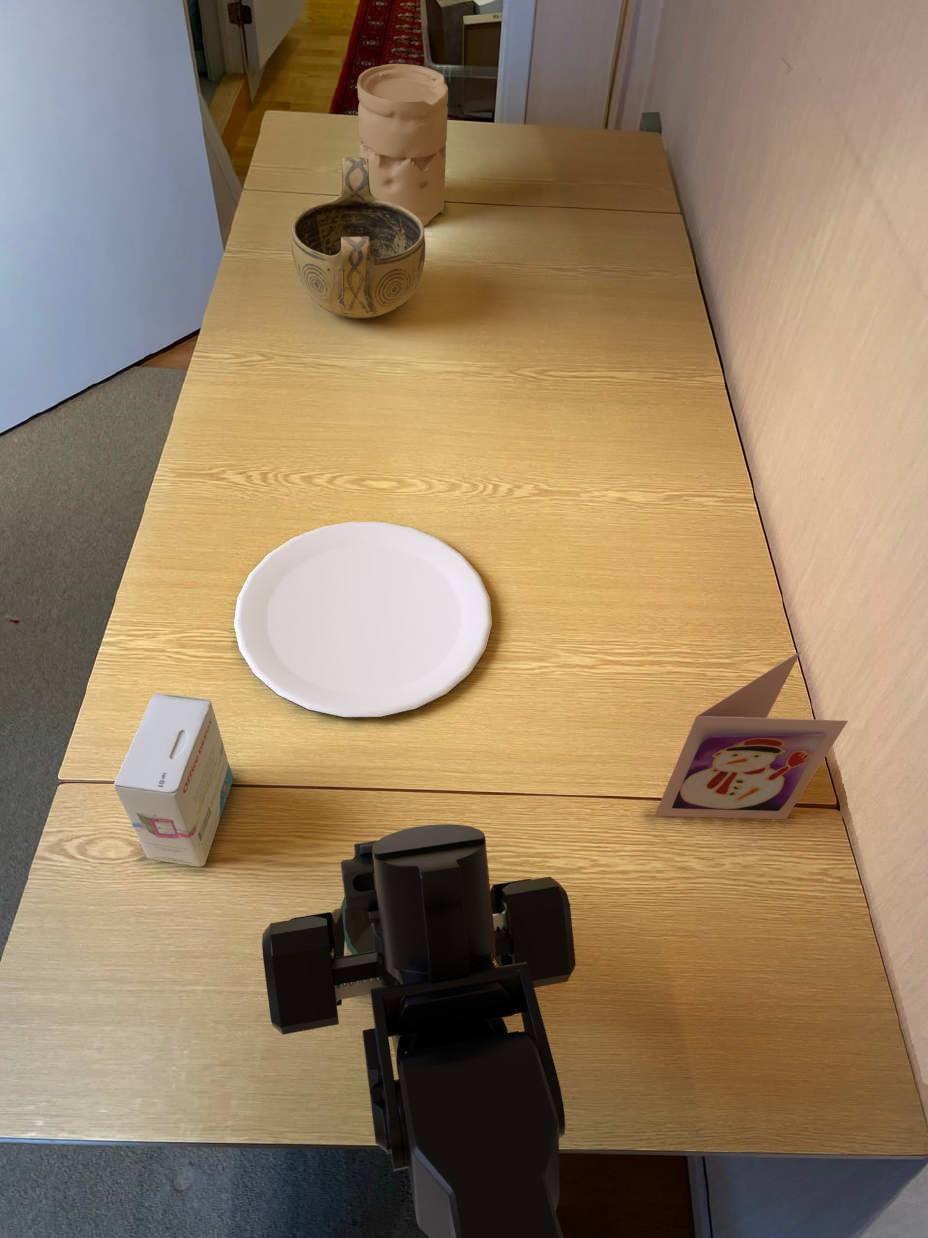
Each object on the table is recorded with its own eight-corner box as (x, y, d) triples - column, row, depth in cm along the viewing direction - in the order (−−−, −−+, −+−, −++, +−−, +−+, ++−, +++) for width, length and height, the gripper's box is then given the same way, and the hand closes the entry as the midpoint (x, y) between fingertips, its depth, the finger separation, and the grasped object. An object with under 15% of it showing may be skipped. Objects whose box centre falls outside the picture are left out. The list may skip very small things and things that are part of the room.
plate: (283, 761, 85) (282, 753, 84) (204, 566, 99) (202, 558, 98) (536, 672, 93) (537, 664, 92) (429, 503, 107) (429, 494, 106)
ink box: (177, 769, 84) (151, 688, 75) (234, 778, 84) (215, 697, 75) (143, 860, 79) (110, 784, 70) (204, 869, 79) (179, 794, 69)
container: (452, 195, 152) (458, 71, 138) (431, 234, 144) (435, 107, 130) (374, 182, 153) (372, 57, 140) (350, 220, 145) (345, 92, 132)
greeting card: (656, 824, 83) (698, 726, 72) (645, 750, 88) (683, 646, 77) (788, 828, 84) (850, 730, 72) (770, 754, 89) (826, 651, 77)
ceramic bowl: (299, 258, 138) (291, 151, 126) (420, 260, 139) (422, 154, 128) (293, 352, 124) (282, 241, 112) (427, 353, 125) (431, 243, 114)
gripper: (591, 837, 54) (523, 772, 69) (246, 892, 51) (255, 812, 66) (609, 1030, 55) (538, 924, 70) (271, 1096, 52) (275, 970, 67)
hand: (405, 904), depth 68 cm, fingers open, 9 cm apart
